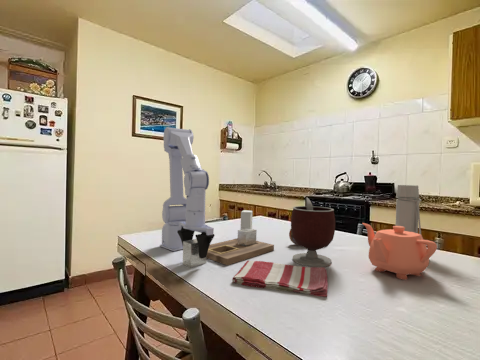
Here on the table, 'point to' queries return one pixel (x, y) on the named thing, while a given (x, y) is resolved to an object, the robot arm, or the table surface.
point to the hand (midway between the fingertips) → (195, 254)
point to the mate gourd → (312, 233)
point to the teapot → (399, 251)
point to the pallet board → (236, 251)
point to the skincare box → (246, 219)
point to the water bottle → (408, 208)
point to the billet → (192, 254)
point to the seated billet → (247, 237)
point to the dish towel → (283, 277)
